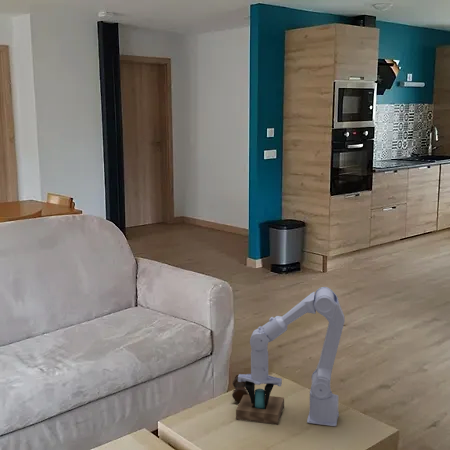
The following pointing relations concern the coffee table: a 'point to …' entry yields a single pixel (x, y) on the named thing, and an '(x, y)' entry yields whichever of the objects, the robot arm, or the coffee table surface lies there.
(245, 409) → the bore block
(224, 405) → the coffee table surface
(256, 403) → the pin
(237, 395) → the bolt
